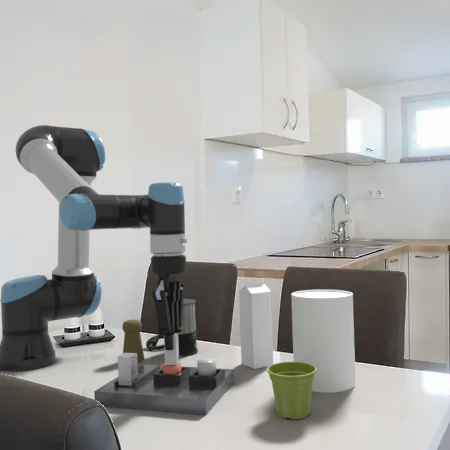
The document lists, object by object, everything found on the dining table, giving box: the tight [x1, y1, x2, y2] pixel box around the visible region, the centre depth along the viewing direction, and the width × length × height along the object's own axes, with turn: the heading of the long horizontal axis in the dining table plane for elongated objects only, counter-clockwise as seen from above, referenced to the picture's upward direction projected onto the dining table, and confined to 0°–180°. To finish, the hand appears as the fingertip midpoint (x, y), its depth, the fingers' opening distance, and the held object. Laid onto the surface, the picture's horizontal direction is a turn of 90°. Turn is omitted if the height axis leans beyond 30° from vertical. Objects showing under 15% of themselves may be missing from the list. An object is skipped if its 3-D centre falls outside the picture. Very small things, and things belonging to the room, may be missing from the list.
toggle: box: [117, 352, 139, 386], centre depth 107 cm, size 3×3×6 cm
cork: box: [122, 319, 145, 364], centre depth 137 cm, size 6×6×11 cm
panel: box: [93, 363, 235, 416], centre depth 109 cm, size 24×20×5 cm
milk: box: [238, 277, 274, 370], centre depth 129 cm, size 6×6×22 cm
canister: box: [290, 289, 356, 393], centre depth 113 cm, size 14×14×20 cm
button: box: [162, 362, 182, 375], centre depth 109 cm, size 4×4×3 cm
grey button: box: [196, 357, 217, 377], centre depth 107 cm, size 4×4×3 cm
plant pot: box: [266, 361, 317, 420], centre depth 95 cm, size 9×9×9 cm
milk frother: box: [145, 298, 199, 357], centre depth 146 cm, size 14×16×15 cm
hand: (172, 363), depth 109 cm, fingers closed
